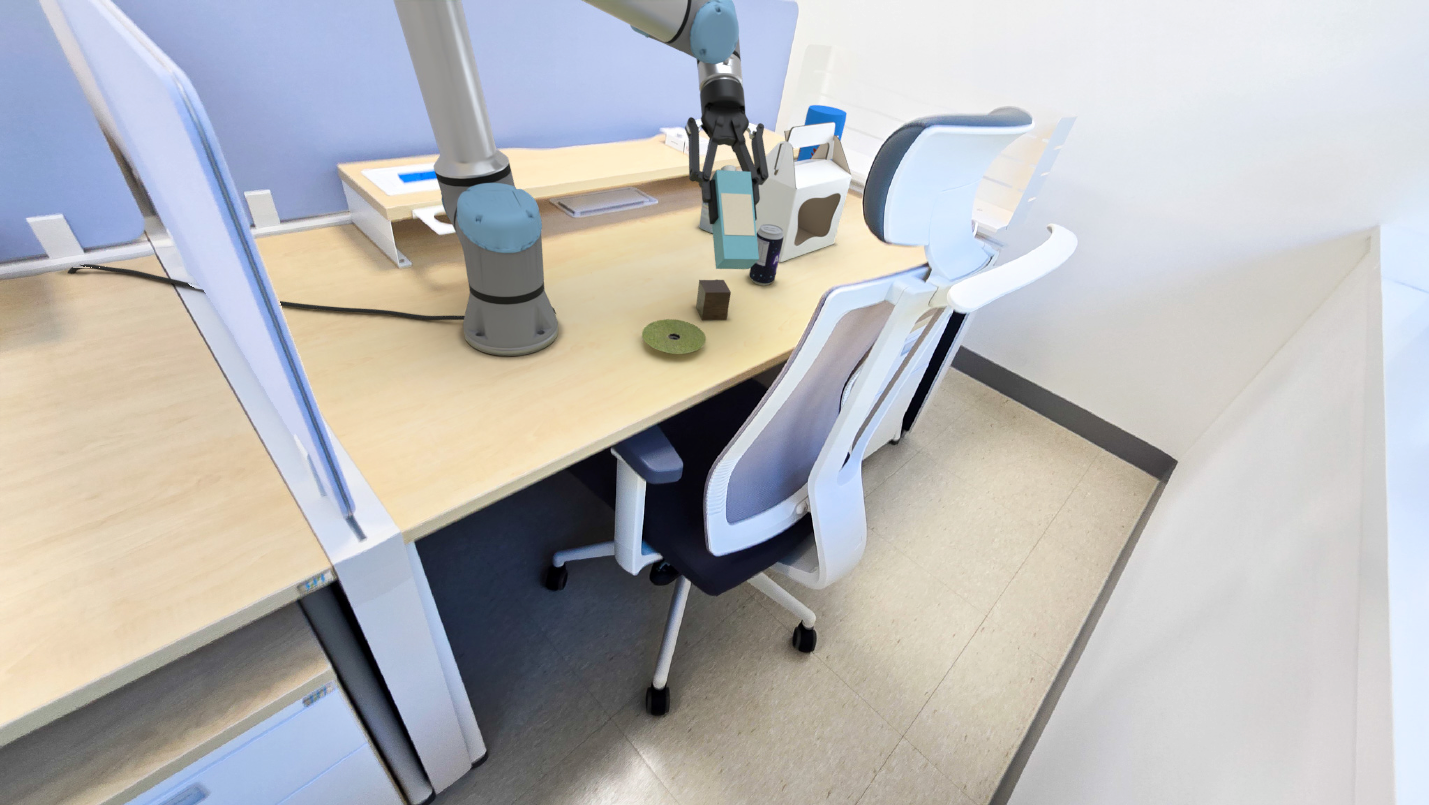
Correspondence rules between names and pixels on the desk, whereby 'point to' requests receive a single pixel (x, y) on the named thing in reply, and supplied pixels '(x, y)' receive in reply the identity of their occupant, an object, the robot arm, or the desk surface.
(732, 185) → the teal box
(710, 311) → the walnut block
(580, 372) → the desk surface
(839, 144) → the gable box
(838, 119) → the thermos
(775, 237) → the beverage can
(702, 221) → the medicine box
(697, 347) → the green disc
